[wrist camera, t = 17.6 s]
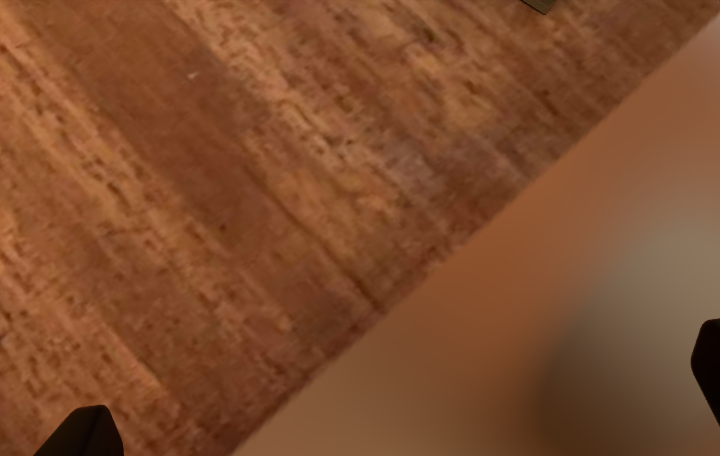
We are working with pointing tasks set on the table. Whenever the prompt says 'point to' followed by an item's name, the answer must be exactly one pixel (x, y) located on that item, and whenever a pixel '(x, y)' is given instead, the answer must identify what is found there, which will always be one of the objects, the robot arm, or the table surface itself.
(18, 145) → the table surface
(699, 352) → the robot arm
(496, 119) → the table surface
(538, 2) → the box
